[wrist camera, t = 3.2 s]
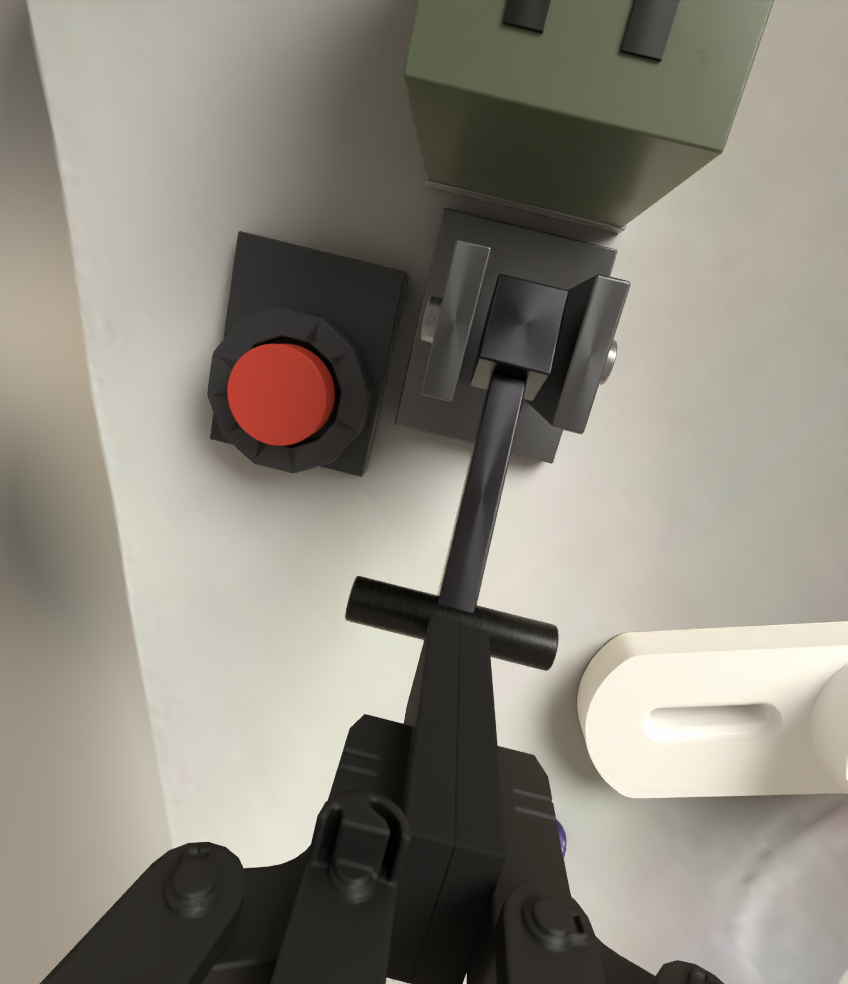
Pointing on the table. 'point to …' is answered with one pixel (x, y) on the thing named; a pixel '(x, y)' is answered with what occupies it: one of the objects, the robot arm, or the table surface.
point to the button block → (311, 344)
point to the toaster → (577, 98)
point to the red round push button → (280, 393)
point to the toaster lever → (484, 483)
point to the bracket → (720, 711)
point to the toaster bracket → (460, 321)
